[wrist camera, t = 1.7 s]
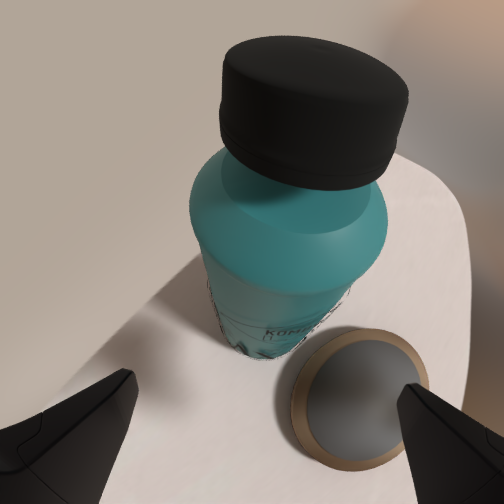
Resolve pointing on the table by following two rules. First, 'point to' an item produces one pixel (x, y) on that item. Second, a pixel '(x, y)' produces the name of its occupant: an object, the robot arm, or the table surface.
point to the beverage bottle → (294, 185)
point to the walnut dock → (354, 399)
